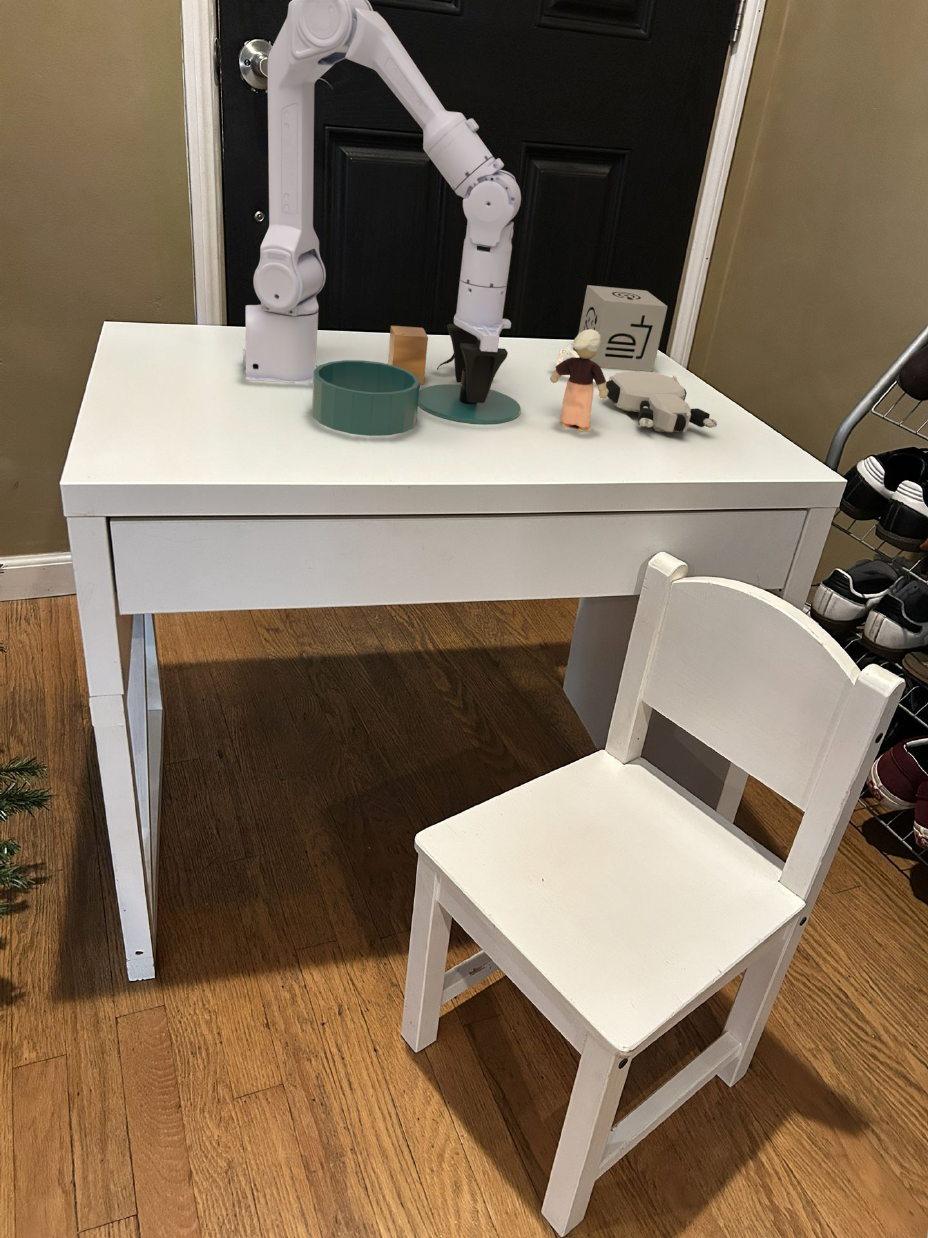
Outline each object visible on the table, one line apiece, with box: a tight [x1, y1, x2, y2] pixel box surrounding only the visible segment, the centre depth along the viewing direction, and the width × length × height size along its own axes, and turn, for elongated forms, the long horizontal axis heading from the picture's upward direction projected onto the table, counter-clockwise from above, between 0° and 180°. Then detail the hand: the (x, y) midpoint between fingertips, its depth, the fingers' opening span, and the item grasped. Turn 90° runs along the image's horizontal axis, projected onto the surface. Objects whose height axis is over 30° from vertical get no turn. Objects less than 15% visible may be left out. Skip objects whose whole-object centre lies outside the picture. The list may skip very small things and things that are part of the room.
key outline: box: [555, 348, 596, 383], centre depth 142 cm, size 13×5×2 cm, turn 11°
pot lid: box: [418, 368, 522, 425], centre depth 121 cm, size 14×14×5 cm
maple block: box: [387, 325, 429, 386], centre depth 127 cm, size 4×4×7 cm
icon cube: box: [578, 284, 668, 372], centre depth 149 cm, size 10×10×10 cm
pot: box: [311, 359, 421, 437], centre depth 113 cm, size 12×13×6 cm
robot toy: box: [606, 370, 718, 433], centre depth 126 cm, size 12×4×15 cm
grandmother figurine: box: [549, 329, 608, 432], centre depth 117 cm, size 8×4×13 cm, turn 71°
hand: (470, 391), depth 121 cm, fingers open, 7 cm apart
